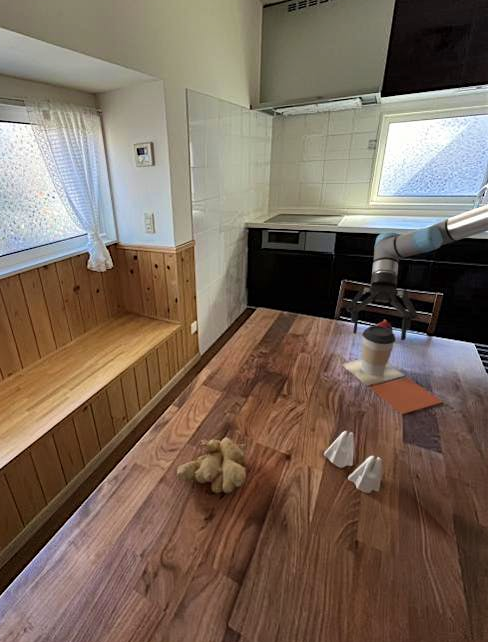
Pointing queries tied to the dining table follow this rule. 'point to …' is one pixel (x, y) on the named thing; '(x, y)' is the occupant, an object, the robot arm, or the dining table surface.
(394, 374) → the cream mat
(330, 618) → the dining table surface
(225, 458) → the ginger root
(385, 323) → the onion
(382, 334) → the coffee cup
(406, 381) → the terracotta mat
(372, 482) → the shaker set
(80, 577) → the dining table surface
